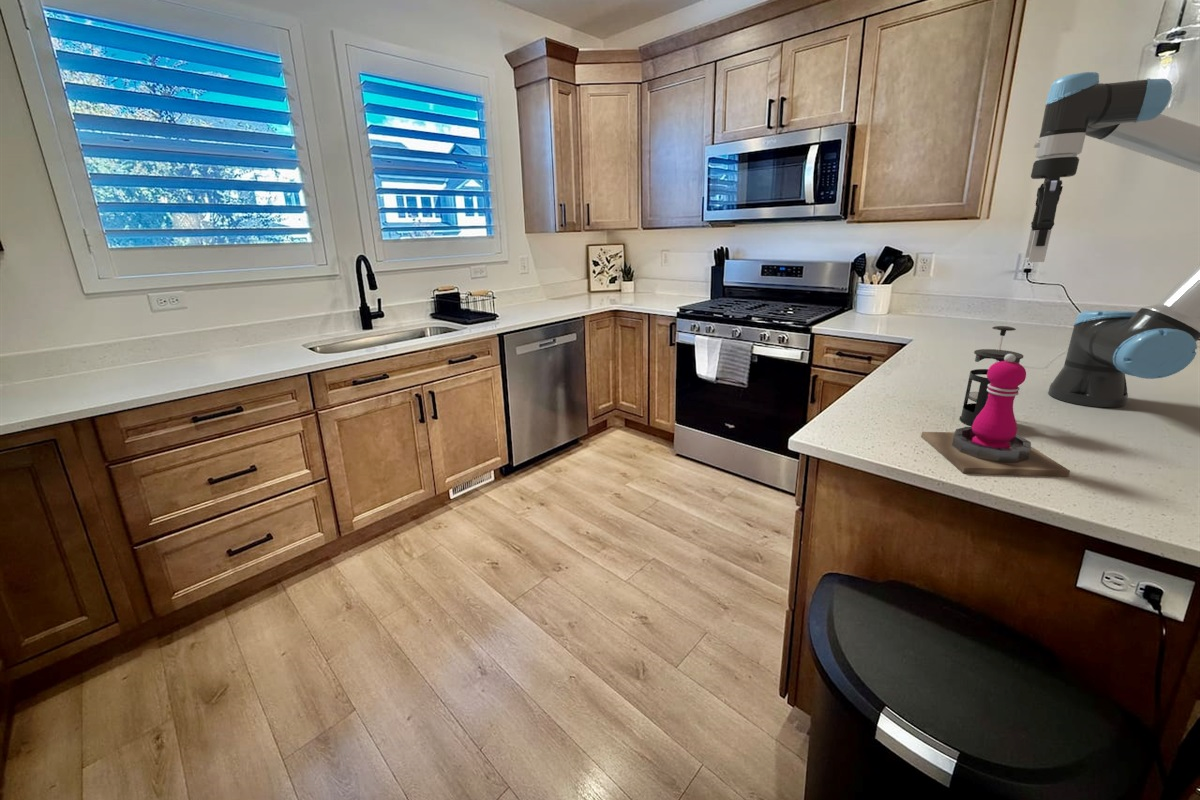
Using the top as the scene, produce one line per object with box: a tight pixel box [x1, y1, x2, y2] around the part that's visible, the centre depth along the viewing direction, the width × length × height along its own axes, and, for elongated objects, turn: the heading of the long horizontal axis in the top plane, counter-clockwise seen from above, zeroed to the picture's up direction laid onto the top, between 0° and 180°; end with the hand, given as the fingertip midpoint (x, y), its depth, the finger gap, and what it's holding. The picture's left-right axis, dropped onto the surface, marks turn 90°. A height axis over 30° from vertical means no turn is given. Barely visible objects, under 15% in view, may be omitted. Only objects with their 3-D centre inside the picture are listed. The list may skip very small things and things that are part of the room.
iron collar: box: [952, 426, 1032, 463], centre depth 104 cm, size 12×12×2 cm
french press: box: [958, 325, 1024, 427], centre depth 118 cm, size 12×9×23 cm
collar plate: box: [920, 431, 1071, 477], centre depth 105 cm, size 18×18×1 cm
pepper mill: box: [971, 354, 1027, 448], centre depth 101 cm, size 7×7×20 cm
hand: (1033, 259), depth 117 cm, fingers open, 13 cm apart
